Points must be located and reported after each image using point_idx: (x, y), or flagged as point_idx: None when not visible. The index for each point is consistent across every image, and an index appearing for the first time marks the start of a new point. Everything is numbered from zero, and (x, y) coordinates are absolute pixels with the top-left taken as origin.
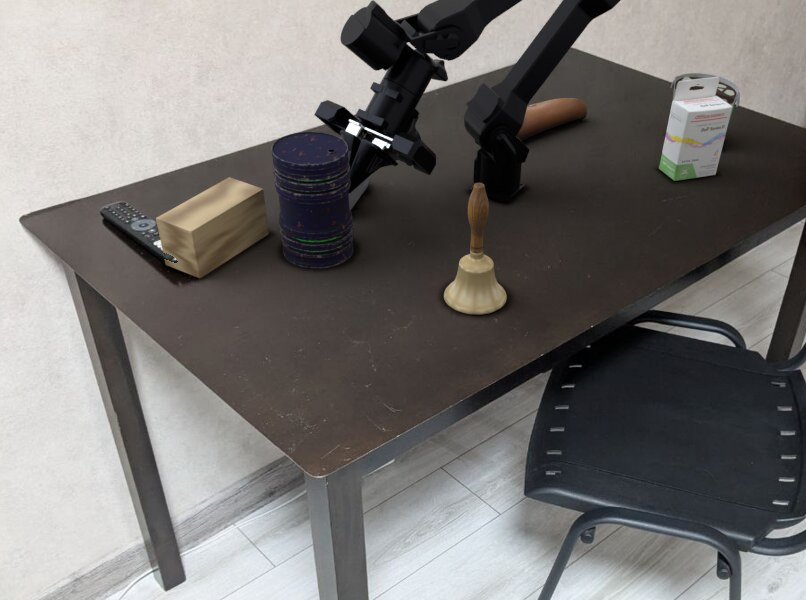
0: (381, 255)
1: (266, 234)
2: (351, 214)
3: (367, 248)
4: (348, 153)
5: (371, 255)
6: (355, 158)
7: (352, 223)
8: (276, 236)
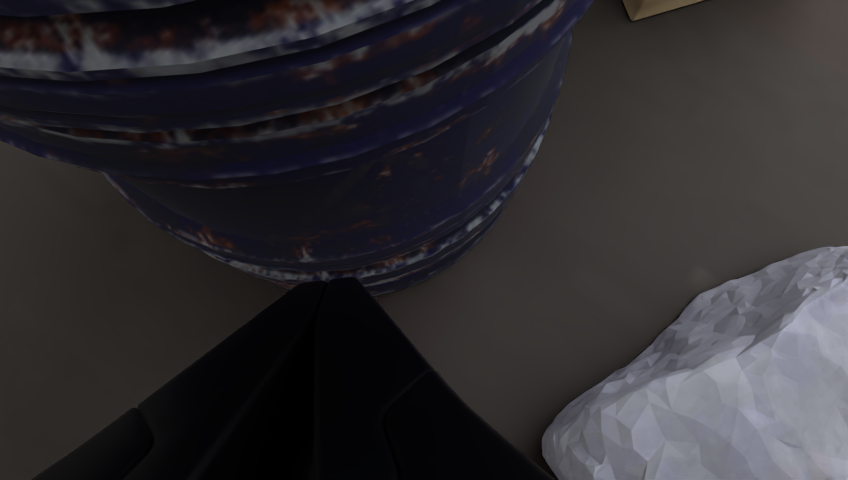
0: (87, 343)
1: (626, 3)
2: (139, 205)
3: (193, 329)
4: (381, 463)
5: (125, 301)
6: (175, 467)
7: (203, 251)
8: (591, 40)
